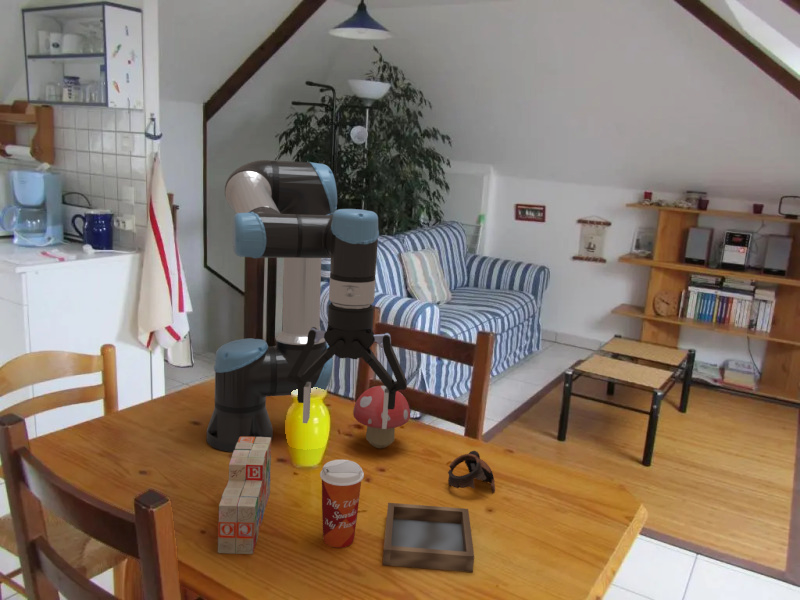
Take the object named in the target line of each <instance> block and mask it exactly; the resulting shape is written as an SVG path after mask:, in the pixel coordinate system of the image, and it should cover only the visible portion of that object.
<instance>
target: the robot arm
mask: <svg viewBox="0 0 800 600" xmlns="http://www.w3.org/2000/svg"><path fill="white" fill-rule="evenodd" d="M224 197H225V200H226V202H227V205H229V207H230V209H232V210H233V211H234V212H235V214H234V217H233V219H232V236H231V237H232V249H233V252H234V254H235V255H236V256H237V257H240V258H241V257H244V258H252V259H261V258H262V259H264V258H265V259H267V258H268V259H270V258H272V259H273V258H275V259H276V258H277V259H278V258H279V259H280V258H281V259H282V258H283V292H282V294H283V296H282V304H283V305H282V331H281V332H280V334H278V336H276V337H275V338H276V339H275V345H273V346H272V345H271V346H269V345H268V343H267V341H266V340H264V339H260V338H256V339H255V338H251V337H250V338H241V339H240V338H239V339H236V340H231V341H229V342H227V343H224V344H222V345H221V346H219V347H218V349H217V350H216V352H215V360H214V366H213V371H214V408H213V412H212V414H211V416H210V420H209V423H208V425H207V428H206V442H207V444H208V445H209V446H211V447H212V448H214V449H216V450H220V451H222V452H223V451H224V452H231V453H233V451H234V450H235V447H236V444H237V442H238V440H239V437H255V438H256V437H271V441H272V440H273V434H274V433H273V431H274V429H273V425H272V422H271V419H270V416H269V413H268V409H267V397H281V396H283V397H284V396H285V397H286V396H292V395H291V392H292V391H293V390H296V389H298V395H296V396H297V397H296V398H297V399H296V400H297V402H298V403H299V404H302V405H303V406H302V424H308V422H309V420H310V418H311V417H310V414H311V412H310V411H311V394H310V393H311V388H313V387H318V388H321V389H324V390H327V388H328V386H329V385H330V382H331V378H332V373H333V367H334V360H333V356H334V355H335V356H336V357H338V358H339V359H348V358H349V359H351V360H358V359H361V358H362V360H363V361H364V362H365V363H366V364H368V366H369V367H370V369H372V371H373V372H374V373H375V375H376V376H377V378H378V379H379V380H380V381H381V383H382V384H383V386H386V387H385V391H384V404H383V420H382V429H386V428H387V417H388V409H394V407H395V396H396V392H397V391H401V390H406V389H407V386H408V380H407V378H406V376H405V373H404V371H403V369H402V367H401V364H400V362H399V360H398V358H397V355H396V353H395V351H394V348H393V346H392V337H391V333H390V332H388V331H386V332H384V333H380V334H374V330H373V327H374V325H373V324H374V306H373V305H372V304H373V303H374V302H375V296H376V295H375V294H376V292H375V291H376V274H377V273H376V272H377V271H376V270H377V256H378V243H379V242H378V239H379V236H380V231H379V216H378V214H377V213H376V212H374V211H372V210H366V209H358V208H357V209H356V208H339V209H337V208H338V207H337V205H338V191H337V183H336V179H335V175H334V173H333V171H332V170H331V168H330V167H329V166H328V165H326V164H324V163H319V162H318V163H317V162H311V161H307V162H305V161H289V160H288V161H285V160H270V159H269V160H268V159H260V160H259V159H258V160H255V161H250V162H247V163H245V164H243V165H241V166H239V167H238V168H236V169H235V170H233V171H232V173H230V175H229V176H228V178H227V180H226V182H225V185H224ZM322 259H330V270H329V271H330V272H329V286H328V287H329V288H328V289H329V290H328V291H329V292H328V300H329V302H330V303H329V304H328V308H327V309H328V310H327V312H328V313H327V328H326V330H320V328H321V327H320V326H321V325H320V323H321V322H320V321H321V317H320V316H321V277H322V276H321V275H322ZM374 343H377V345H378V346H379V348H382V349H383V352H384V355H385V357H386V360H387V362H388V364H389V366H390V369H391V371H392V374H393V375H394V378H395V379H394V378H393V377H392V375H390V374H389V372H388V371H387V369H386V368H385V367H384V366H383V364H382V363H381V362H380V360H379V359H378V358H377V357H376V355H375V353H374V351H372V349H371V347H372V346H373V344H374ZM316 389H317V388H316Z"/></svg>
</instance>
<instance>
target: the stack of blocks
mask: <svg viewBox="0 0 800 600" xmlns="http://www.w3.org/2000/svg"><path fill="white" fill-rule="evenodd" d="M231 454H232V455H231V458H230V461H229V464H228V481H227V483H226V485H225V488H224V490H223V492H222V495H221V499H220V502H219V503H218V523H217V553H218V554H237V555H238V554H239V555H243V554H245V555H253V554H254V552H255V547H256V544H257V542H258V538H259V534H260V531H261V527H262V523H263V520H264V519H263V518H264V514H265V510H266V508H267V505H268V502H269V499H270V494H271V468H272V467H271V465H272V440H271V437H256V438H255V437H239V440H238V442H237V444H236V447H235V450H234V451H233V452H232V453H231Z"/></svg>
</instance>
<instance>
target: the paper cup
mask: <svg viewBox="0 0 800 600" xmlns="http://www.w3.org/2000/svg"><path fill="white" fill-rule="evenodd" d="M364 474H365V473H364V471H363V468H362V467H361V465H359V463H357V462H355V461H353V460H350V459H332V460H330V461H328V462H326V463H325V464H324V465H323V466H322V469H321V471H320V472H319V477H320V479H321V513H322V514H321V518H322V519H321V520H322V540H323V543H324V544H325V545H327V546H329V547H331V548H334V549H342V548H346V547H350V545H352V544H353V543H354V541H355V540H354V539H355V533H356V527H357V520H358V519H357V518H358V513H359V512H358V511H359V503H360V495H361V494H360V493H361V485H362V481H363V479H364V477H365V475H364Z"/></svg>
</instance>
